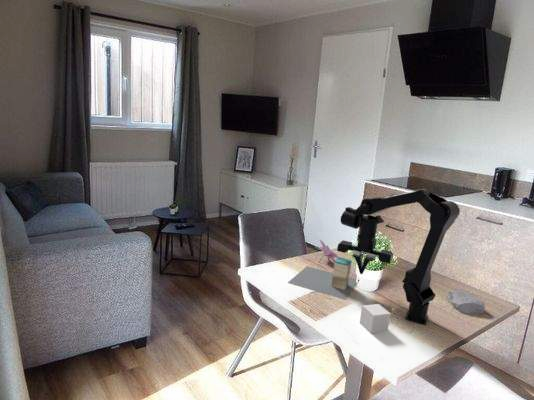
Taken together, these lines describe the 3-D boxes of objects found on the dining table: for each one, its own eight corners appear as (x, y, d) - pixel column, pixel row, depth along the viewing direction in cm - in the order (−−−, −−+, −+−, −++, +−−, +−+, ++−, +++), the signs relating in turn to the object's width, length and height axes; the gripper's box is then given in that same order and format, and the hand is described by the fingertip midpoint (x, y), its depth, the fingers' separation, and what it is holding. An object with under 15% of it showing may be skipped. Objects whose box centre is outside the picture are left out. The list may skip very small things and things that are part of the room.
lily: (337, 272, 161) (347, 251, 162) (312, 259, 160) (322, 238, 161) (329, 269, 172) (338, 250, 174) (305, 257, 172) (315, 238, 173)
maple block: (344, 289, 141) (348, 264, 139) (331, 286, 143) (334, 260, 141) (348, 285, 146) (351, 259, 144) (335, 281, 148) (338, 256, 146)
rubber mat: (345, 300, 134) (345, 299, 134) (287, 283, 143) (287, 282, 143) (359, 280, 151) (359, 279, 151) (306, 267, 161) (306, 266, 161)
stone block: (458, 318, 133) (487, 314, 133) (457, 305, 132) (487, 301, 132) (442, 302, 145) (469, 299, 144) (441, 290, 144) (469, 287, 144)
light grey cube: (359, 323, 120) (362, 305, 119) (375, 321, 122) (378, 303, 121) (370, 334, 114) (373, 315, 113) (387, 331, 117) (390, 313, 115)
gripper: (398, 232, 140) (391, 273, 143) (347, 222, 148) (342, 260, 151) (393, 240, 130) (386, 283, 134) (339, 228, 138) (333, 269, 141)
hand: (361, 273), depth 140 cm, fingers closed
